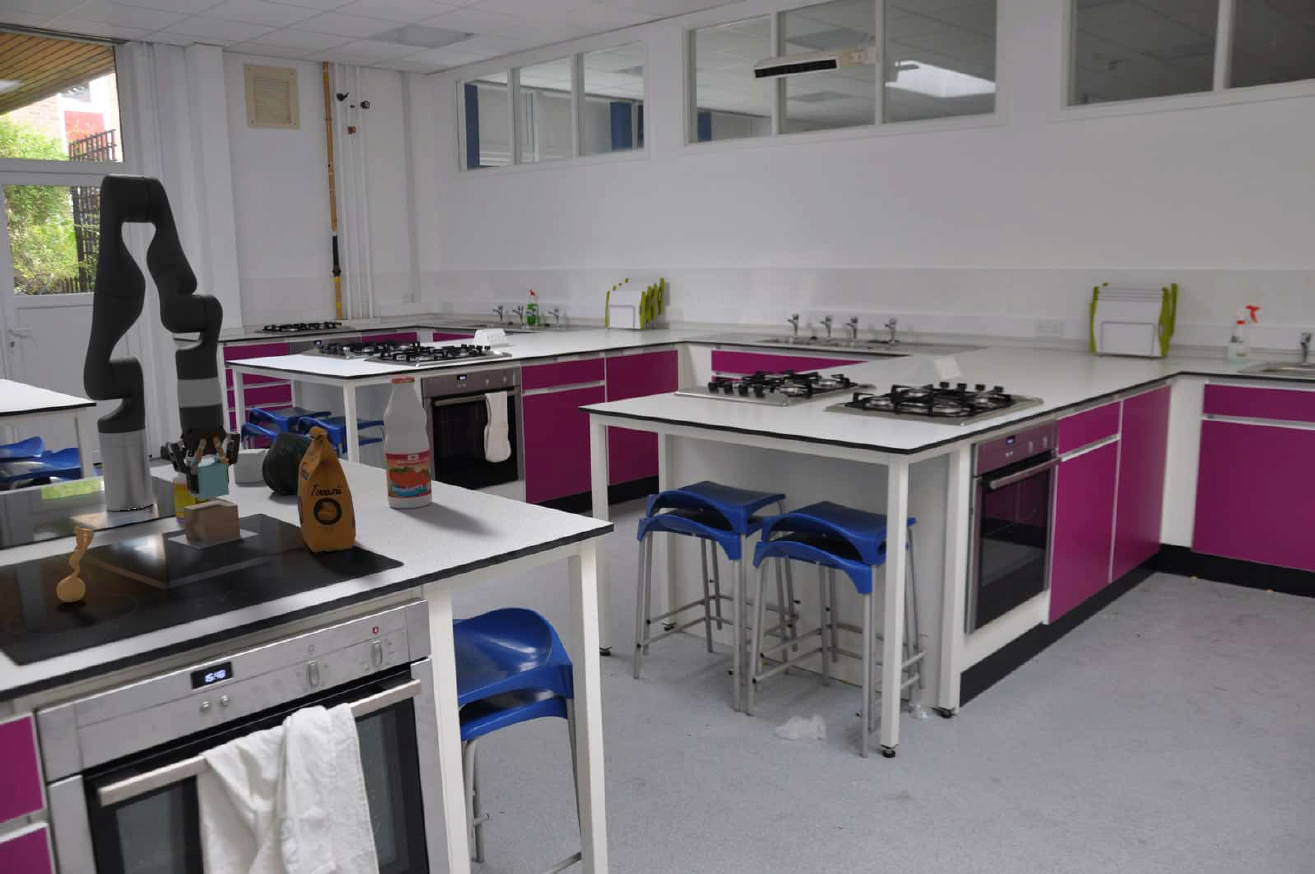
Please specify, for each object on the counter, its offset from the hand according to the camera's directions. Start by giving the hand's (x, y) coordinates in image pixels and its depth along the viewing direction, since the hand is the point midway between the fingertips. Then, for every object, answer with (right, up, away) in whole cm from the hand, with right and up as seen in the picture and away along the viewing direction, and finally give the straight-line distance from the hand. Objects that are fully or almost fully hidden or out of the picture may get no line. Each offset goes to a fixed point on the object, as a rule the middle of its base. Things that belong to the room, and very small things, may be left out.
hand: (208, 490), depth 192 cm
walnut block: (0, -9, +2) cm, 9 cm away
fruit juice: (+31, -5, +29) cm, 43 cm away
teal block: (0, -1, 0) cm, 1 cm away
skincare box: (-15, -1, +57) cm, 59 cm away
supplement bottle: (-11, -8, +17) cm, 22 cm away
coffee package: (+24, -10, -2) cm, 26 cm away
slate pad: (0, -10, +2) cm, 10 cm away
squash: (+1, -3, +44) cm, 44 cm away
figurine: (-6, -16, -31) cm, 36 cm away
